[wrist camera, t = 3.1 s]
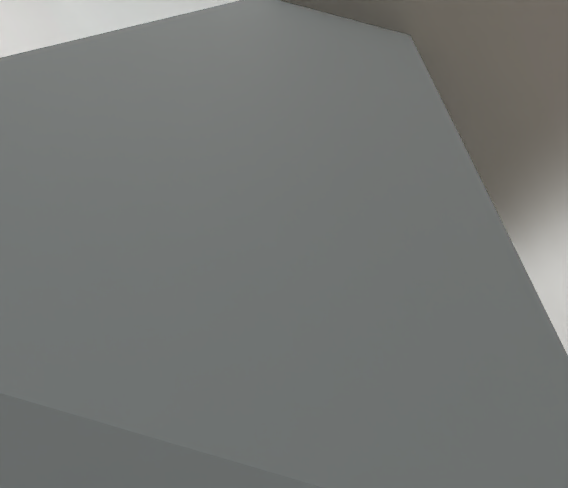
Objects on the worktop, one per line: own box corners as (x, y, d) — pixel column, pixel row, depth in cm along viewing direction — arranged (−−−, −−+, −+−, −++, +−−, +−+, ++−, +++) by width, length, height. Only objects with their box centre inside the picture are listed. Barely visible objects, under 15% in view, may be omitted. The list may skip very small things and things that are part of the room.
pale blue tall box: (261, -5, 14) (-630, 210, 2) (410, 35, 14) (685, 591, 1) (195, 345, 20) (-111, 977, 7) (299, 375, 20) (168, 1067, 7)
